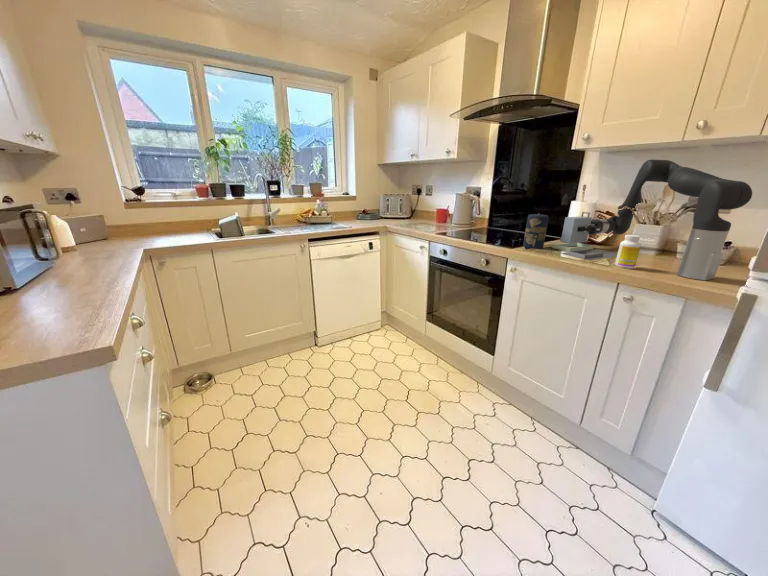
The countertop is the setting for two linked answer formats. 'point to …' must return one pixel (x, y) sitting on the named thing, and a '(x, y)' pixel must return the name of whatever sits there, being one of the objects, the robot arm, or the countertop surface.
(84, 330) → the countertop surface
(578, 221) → the grey block
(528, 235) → the canister
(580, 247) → the tray
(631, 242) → the supplement bottle
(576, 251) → the printer bay
